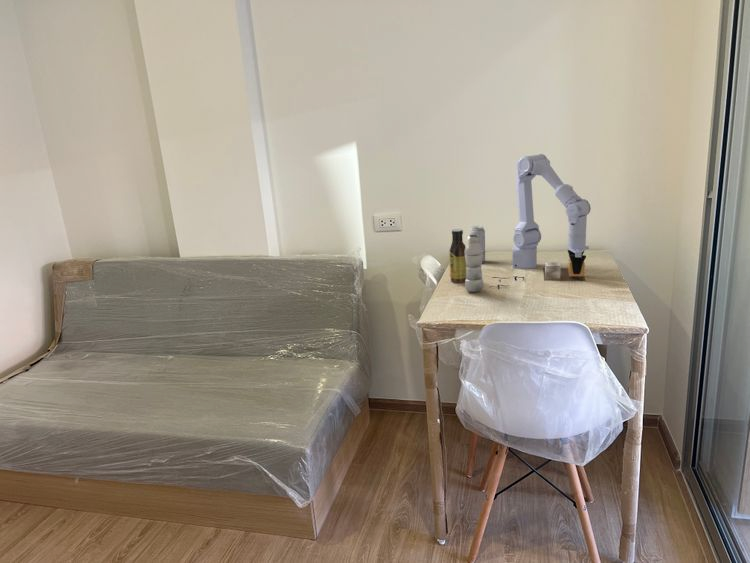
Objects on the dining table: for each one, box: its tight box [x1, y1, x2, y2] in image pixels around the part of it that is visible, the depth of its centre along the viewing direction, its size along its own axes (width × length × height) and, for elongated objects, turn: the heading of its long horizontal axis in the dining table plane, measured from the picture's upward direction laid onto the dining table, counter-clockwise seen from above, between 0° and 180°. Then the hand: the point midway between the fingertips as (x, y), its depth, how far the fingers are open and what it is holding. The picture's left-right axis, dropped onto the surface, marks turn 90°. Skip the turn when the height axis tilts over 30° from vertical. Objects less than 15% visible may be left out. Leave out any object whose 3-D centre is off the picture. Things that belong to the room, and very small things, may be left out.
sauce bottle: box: [448, 228, 466, 283], centre depth 202 cm, size 7×6×20 cm
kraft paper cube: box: [567, 258, 586, 277], centre depth 193 cm, size 5×5×5 cm
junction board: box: [542, 261, 586, 282], centre depth 199 cm, size 14×16×6 cm
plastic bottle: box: [464, 234, 484, 293], centre depth 189 cm, size 6×7×20 cm
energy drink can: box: [469, 225, 486, 263], centre depth 226 cm, size 6×6×15 cm
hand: (575, 271), depth 194 cm, fingers closed on kraft paper cube, 5 cm apart
